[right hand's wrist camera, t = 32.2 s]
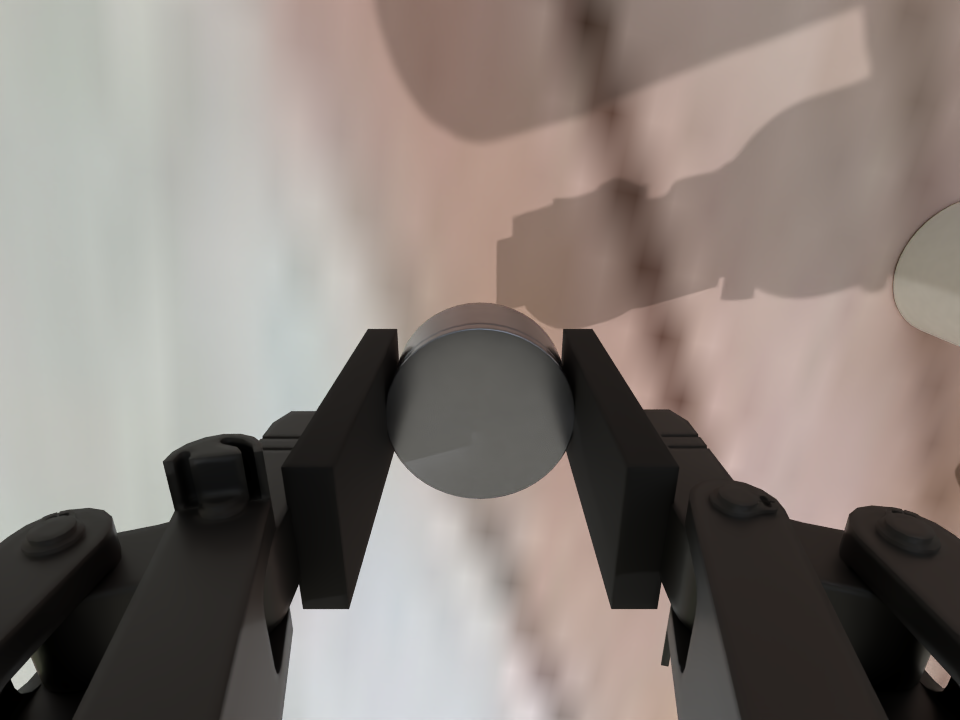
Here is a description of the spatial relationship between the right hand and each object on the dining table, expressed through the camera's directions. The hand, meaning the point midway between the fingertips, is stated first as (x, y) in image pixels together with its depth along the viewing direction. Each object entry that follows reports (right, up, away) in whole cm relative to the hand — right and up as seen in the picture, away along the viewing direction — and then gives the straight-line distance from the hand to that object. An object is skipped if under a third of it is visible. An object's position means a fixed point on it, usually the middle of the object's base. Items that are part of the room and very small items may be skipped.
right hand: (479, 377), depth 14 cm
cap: (0, -1, -2) cm, 2 cm away
